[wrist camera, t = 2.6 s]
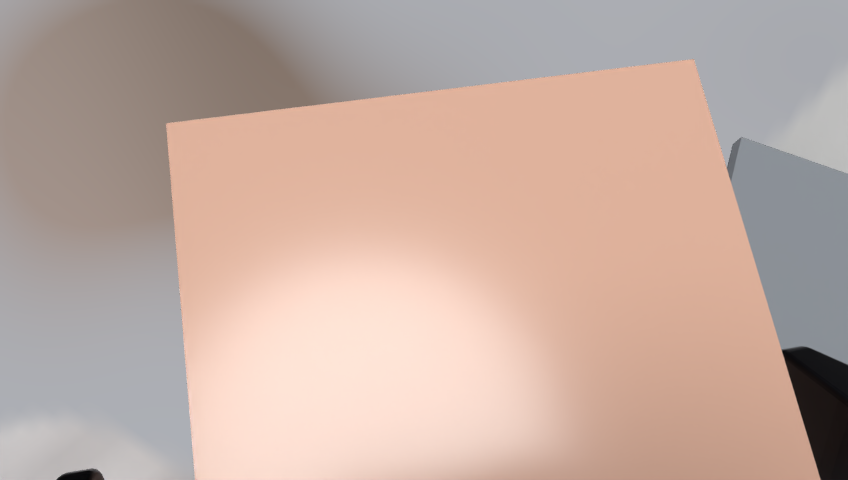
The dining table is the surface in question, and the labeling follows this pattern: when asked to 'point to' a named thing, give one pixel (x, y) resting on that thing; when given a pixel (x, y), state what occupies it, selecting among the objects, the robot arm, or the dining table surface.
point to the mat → (796, 242)
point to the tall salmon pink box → (478, 289)
